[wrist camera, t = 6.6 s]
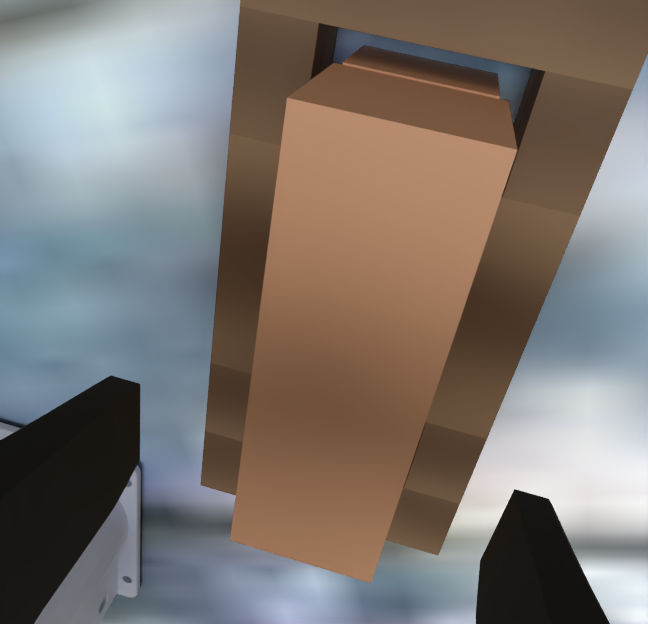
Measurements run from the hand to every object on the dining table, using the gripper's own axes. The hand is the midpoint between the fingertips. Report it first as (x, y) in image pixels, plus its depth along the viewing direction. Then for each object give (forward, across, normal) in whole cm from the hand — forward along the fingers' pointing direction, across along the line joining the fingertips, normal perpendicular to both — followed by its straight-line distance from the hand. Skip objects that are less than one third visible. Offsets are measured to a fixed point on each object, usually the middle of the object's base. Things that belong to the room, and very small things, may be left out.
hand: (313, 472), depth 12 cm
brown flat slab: (+9, 0, 0) cm, 9 cm away
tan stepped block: (+9, 0, 0) cm, 9 cm away
